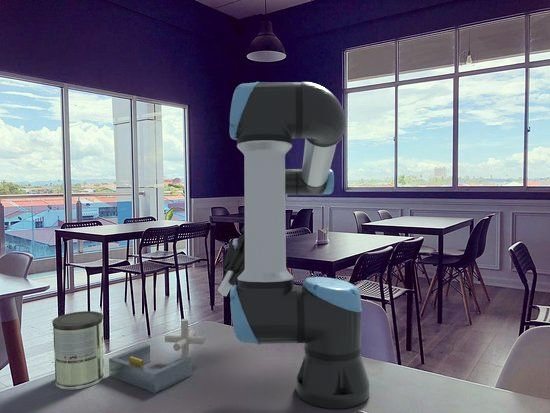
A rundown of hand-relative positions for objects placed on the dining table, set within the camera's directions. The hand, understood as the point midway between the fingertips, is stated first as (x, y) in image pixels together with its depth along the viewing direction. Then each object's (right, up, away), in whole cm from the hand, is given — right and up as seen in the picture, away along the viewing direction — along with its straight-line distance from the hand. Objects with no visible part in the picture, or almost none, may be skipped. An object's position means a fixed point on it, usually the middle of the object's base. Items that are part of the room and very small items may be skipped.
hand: (222, 293), depth 123 cm
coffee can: (-29, -15, -22) cm, 39 cm away
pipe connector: (-8, -15, -11) cm, 20 cm away
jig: (-13, -15, -19) cm, 28 cm away
